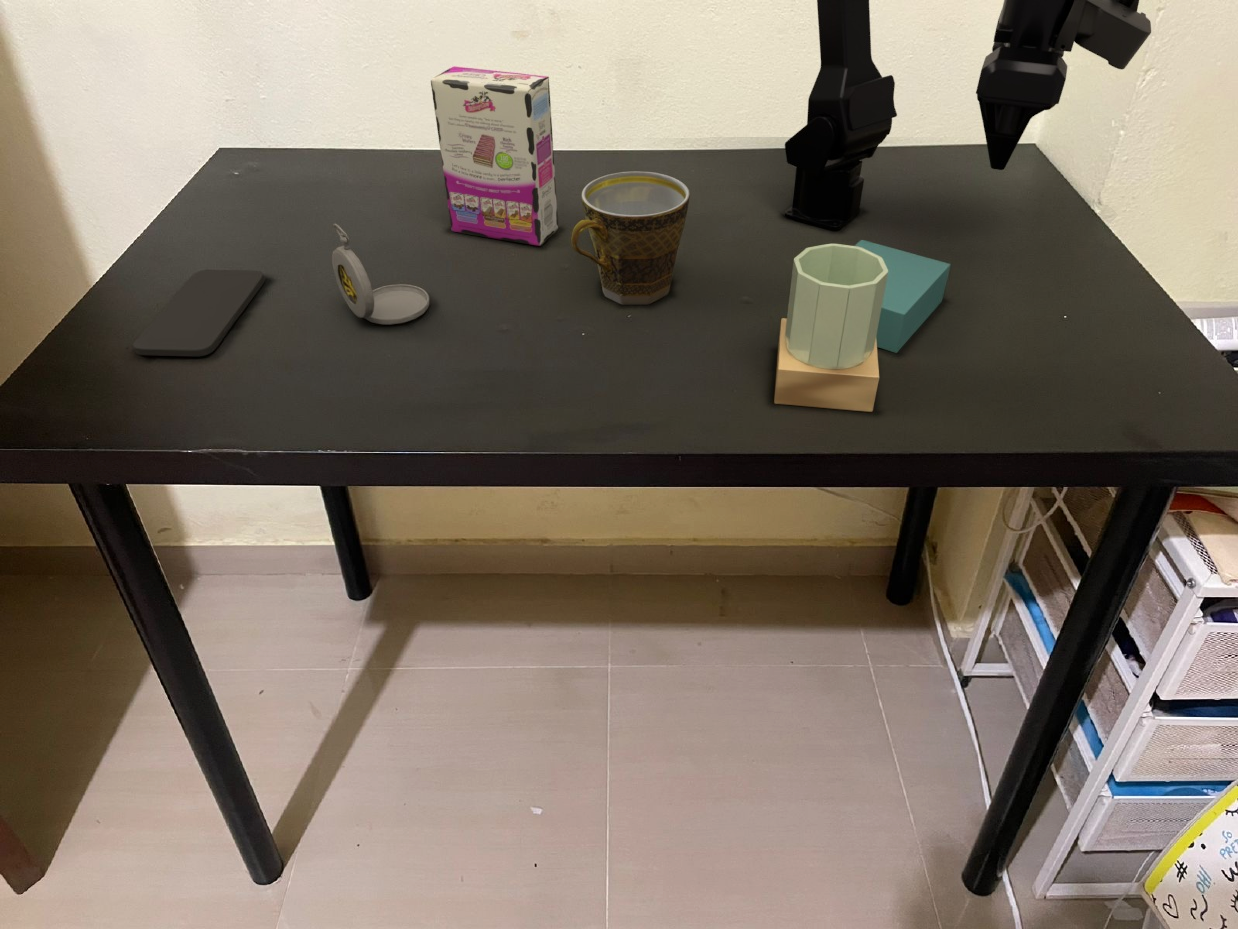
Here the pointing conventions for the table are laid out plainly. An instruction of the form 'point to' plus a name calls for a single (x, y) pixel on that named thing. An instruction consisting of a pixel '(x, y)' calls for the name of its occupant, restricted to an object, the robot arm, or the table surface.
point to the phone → (200, 313)
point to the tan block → (825, 382)
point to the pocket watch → (380, 303)
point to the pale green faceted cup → (835, 305)
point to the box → (906, 293)
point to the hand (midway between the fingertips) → (1002, 148)
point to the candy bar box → (497, 153)
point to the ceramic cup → (634, 233)
